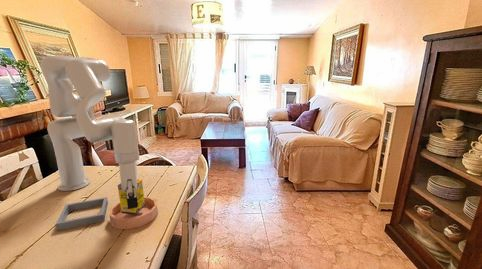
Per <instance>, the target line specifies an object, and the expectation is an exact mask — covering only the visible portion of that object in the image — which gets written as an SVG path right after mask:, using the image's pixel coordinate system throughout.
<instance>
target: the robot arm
mask: <svg viewBox="0 0 482 269" xmlns="http://www.w3.org/2000/svg"><path fill="white" fill-rule="evenodd" d="M40 70H41V72H42V75H43V77H44V79H45V81H46V84H47V92H48V99H49V100H48V101H49V102H48V103H49V108H50V109H49V110H50V112H51V114H52V115H53V116H54V117H57V118H59V119H54V120H51V121H50V122H49V123H48V124H47V128H46V129H47V133H48V135H49V137H50V141H51V143H52V145H53V150H54V154H55V158H56V164H57V168H58V174H59V178H60V179H59V180H60V183H59V184H58V185H57V190H58V191H62V192H71V191H75V190H79V189H82V188H85V187H87V186H88V185H90V182H91V180H90V178H87V177H86V174H85V168H84V161H83V157H82V156H83V155H82V151H81V148H80V145H78V144H77V143H76V142H75V141H73V139H74V140H75V139H79V138H85V140H86V141H88V142H90V143H93V144H94V143H95V144H96V143H100V142H101V143H102V142H105V141H109V140H112V145H113V153H114V159H115V163H116V164H118V166H119V167H118V168H119V175H120V183H121V187H122V191H123V192H124V191H127V205H128V209H132V208H137V207H138V201H137V196H136V191H135V190H136V189H137V179H138V168H137V167H138V166H137V161H139V160H140V151H139V144H138V134H137V126H136V123H135V122H136V121H134V120H133V119H126V118H125V117H123V116H115V117H106V118H100V119H95V116H94V115H95V113H94V111H95V110H94V106H95V105H97V104H99V103H100V102H101V101H103V100H104V99H105V97H106V95H107V91H106V89H105V88H104V86H103V84H102V82H108V81H109V80H110V78H111V70H110V67H109V66H108V64H107V63H106V62H105V61H104V60H102V59H99V58H93V57H85V56H84V57H83V56H67V55H49V56H45V57H44V58H42V59H41V61H40ZM74 89H75V92H76V93H74ZM132 186H134V188H132ZM133 190H134V192H133Z"/></svg>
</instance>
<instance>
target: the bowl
mask: <svg viewBox="0 0 482 269" xmlns="http://www.w3.org/2000/svg"><path fill="white" fill-rule="evenodd" d="M144 202H145V207H144V208H142V209H141V210H140V211H139V212H138V213H137V214H136V215H135V214H125V213H121V206H120V201H119V202H117V203H116V204H114V205H113V206H112V207H111V208H110V209H109V215H108V216H109V222H110V225H112V226H113V227H114V228H116V229H120V230H121V229H123V230H131V229H135V228H139V227H143V226H145V225H147V224H148V223H150V222H152V221H153V220H154V219H155V218H156V217H157V216H158V214H159V210H158V204H157V203H158V202H157V199H154V198H152V197H150V196H144Z"/></svg>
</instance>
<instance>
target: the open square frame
mask: <svg viewBox="0 0 482 269" xmlns="http://www.w3.org/2000/svg"><path fill="white" fill-rule="evenodd" d="M108 205H109V201H108V196H106V197H100V198H95V199H88V200H84V201H78V202H72V203H66V204H65V205H64V207H63V209H62V211H61V213H60V215H59V217H58V219H57V221H56V223H55V229H56V231H57V232H58V231H59V232H60V231H63V230H68V229H71V228H72V229H73V228H78V227H83V226H86V225H87V226H88V225H92V224H96V223H100V222H101V223H102V222H105V221H106V215H107V210H108V209H107V208H108ZM98 206H101V211H100V213H99V214H98V213H97V214H93V215H88V216H81V217H78V218H72V219H67V217H68V215H69V213H70V212H71V211H72V212H73V211H76V210H82V209H83V210H84V209H87V208H92V207H98Z"/></svg>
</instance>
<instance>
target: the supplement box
mask: <svg viewBox="0 0 482 269" xmlns="http://www.w3.org/2000/svg"><path fill="white" fill-rule="evenodd" d="M132 188H134V186H132ZM117 190H118V197H119V198H118V199H119V202H120V206H121V213H125V214H135V215H136V214H137V213H138V212H139V211H140V210H141V209H142V208H144V207H145V202H144V197H145V194H144V193H145V192H144V185H143V179H142V178H137V189H136V190H135V191H136V196H137V201H138V207H137V208H132V209H128V205H127V191H124V192H123V191H122V187H121V182H120V183H118V185H117ZM133 192H134V190H133Z"/></svg>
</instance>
